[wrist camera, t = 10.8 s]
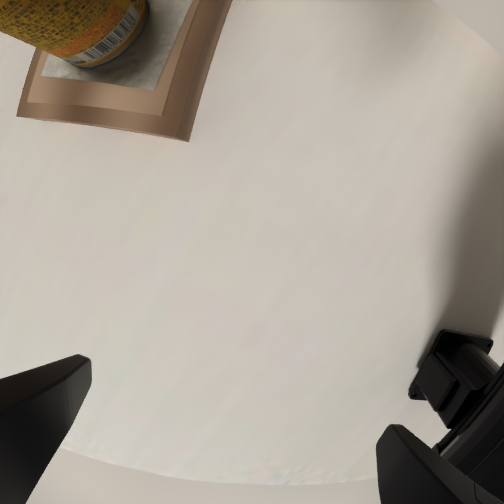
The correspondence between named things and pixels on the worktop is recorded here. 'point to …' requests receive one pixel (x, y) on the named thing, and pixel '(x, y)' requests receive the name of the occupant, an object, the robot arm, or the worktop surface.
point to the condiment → (98, 36)
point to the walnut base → (134, 99)
